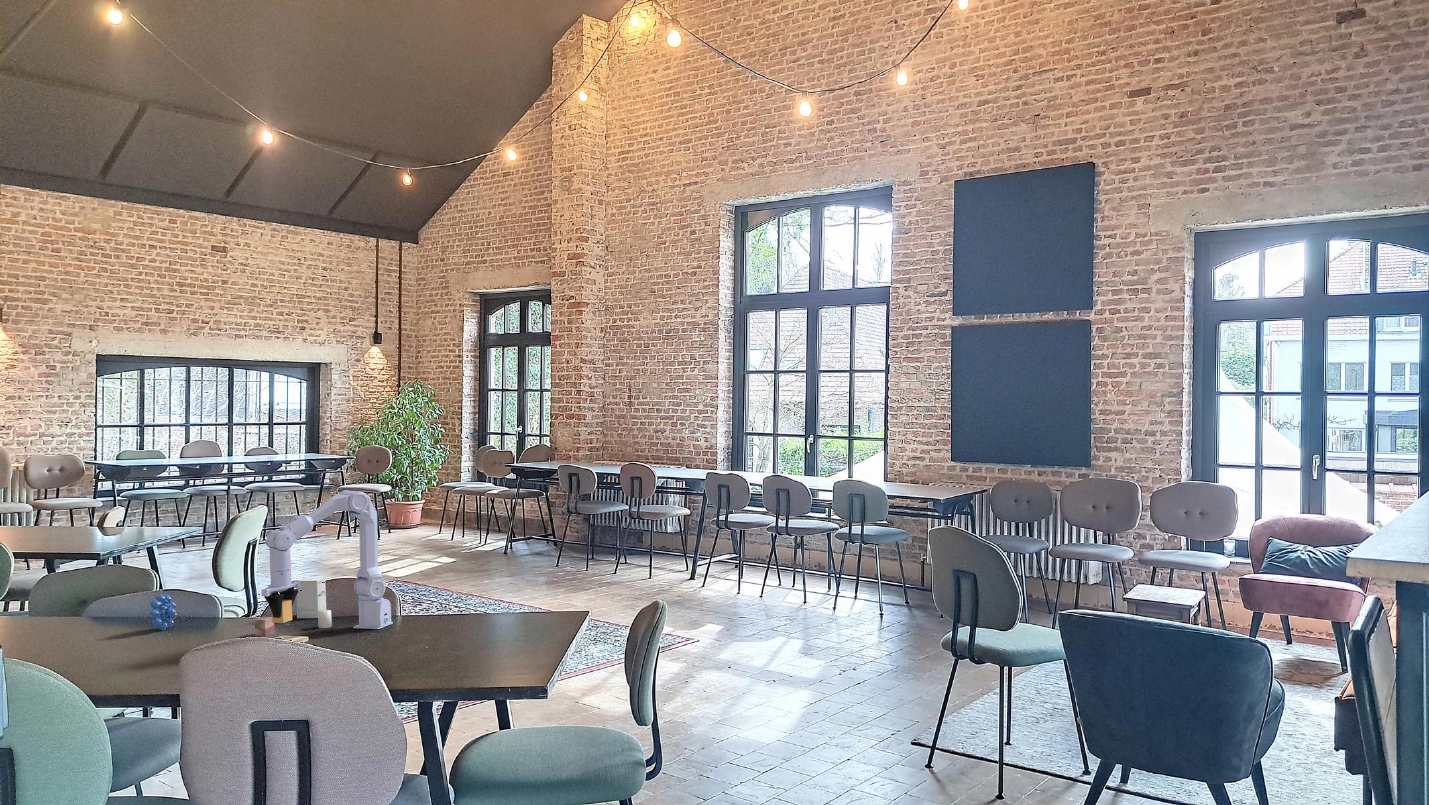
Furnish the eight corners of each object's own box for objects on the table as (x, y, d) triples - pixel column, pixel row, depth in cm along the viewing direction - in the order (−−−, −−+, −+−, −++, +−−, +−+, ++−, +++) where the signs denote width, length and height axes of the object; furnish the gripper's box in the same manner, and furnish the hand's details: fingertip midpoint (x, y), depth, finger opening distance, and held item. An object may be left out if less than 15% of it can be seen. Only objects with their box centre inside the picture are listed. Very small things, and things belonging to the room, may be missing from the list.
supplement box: (318, 618, 339) (317, 580, 338) (296, 618, 339) (295, 581, 339) (327, 613, 346) (326, 576, 346) (305, 613, 346) (304, 576, 346)
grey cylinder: (334, 625, 327) (333, 610, 327) (326, 628, 323) (325, 612, 323) (323, 625, 328) (323, 609, 328) (315, 628, 324) (315, 612, 324)
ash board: (308, 640, 307) (308, 636, 307) (285, 649, 298) (285, 645, 298) (280, 639, 310) (280, 635, 310) (257, 647, 301) (257, 643, 301)
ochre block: (292, 619, 305) (291, 600, 305) (283, 623, 301) (282, 602, 301) (281, 619, 306) (280, 599, 306) (271, 622, 303) (271, 602, 302)
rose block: (274, 633, 319) (274, 617, 319) (265, 636, 315) (265, 620, 315) (264, 632, 320) (263, 616, 320) (254, 635, 316) (254, 619, 316)
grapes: (164, 634, 321) (163, 596, 321) (144, 634, 322) (143, 597, 322) (187, 626, 332) (186, 589, 332) (168, 626, 333) (167, 589, 333)
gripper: (285, 565, 312) (287, 609, 312) (252, 574, 298) (253, 620, 298) (305, 566, 310) (306, 610, 310) (272, 575, 296) (273, 621, 296)
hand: (282, 615), depth 304 cm, fingers closed on ochre block, 4 cm apart
